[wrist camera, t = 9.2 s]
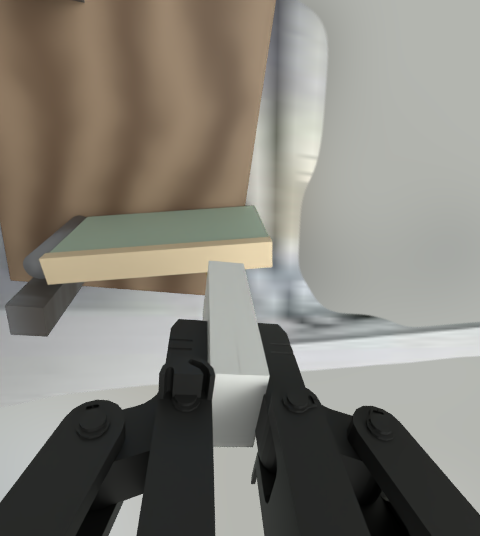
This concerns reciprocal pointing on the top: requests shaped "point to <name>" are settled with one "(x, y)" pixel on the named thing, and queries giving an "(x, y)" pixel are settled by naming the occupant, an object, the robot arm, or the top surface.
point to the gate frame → (121, 123)
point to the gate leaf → (150, 245)
